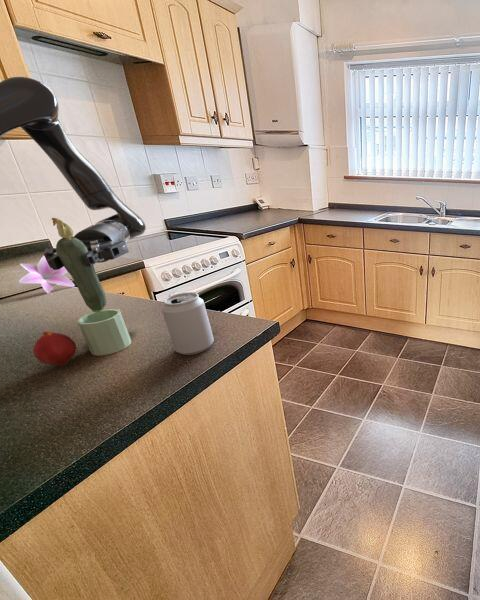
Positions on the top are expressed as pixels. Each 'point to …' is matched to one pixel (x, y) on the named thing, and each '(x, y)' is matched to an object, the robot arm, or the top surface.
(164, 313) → the can
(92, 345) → the tube
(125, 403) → the top surface
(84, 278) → the vegetable
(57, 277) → the lily
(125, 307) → the top surface
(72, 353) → the onion
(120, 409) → the top surface
